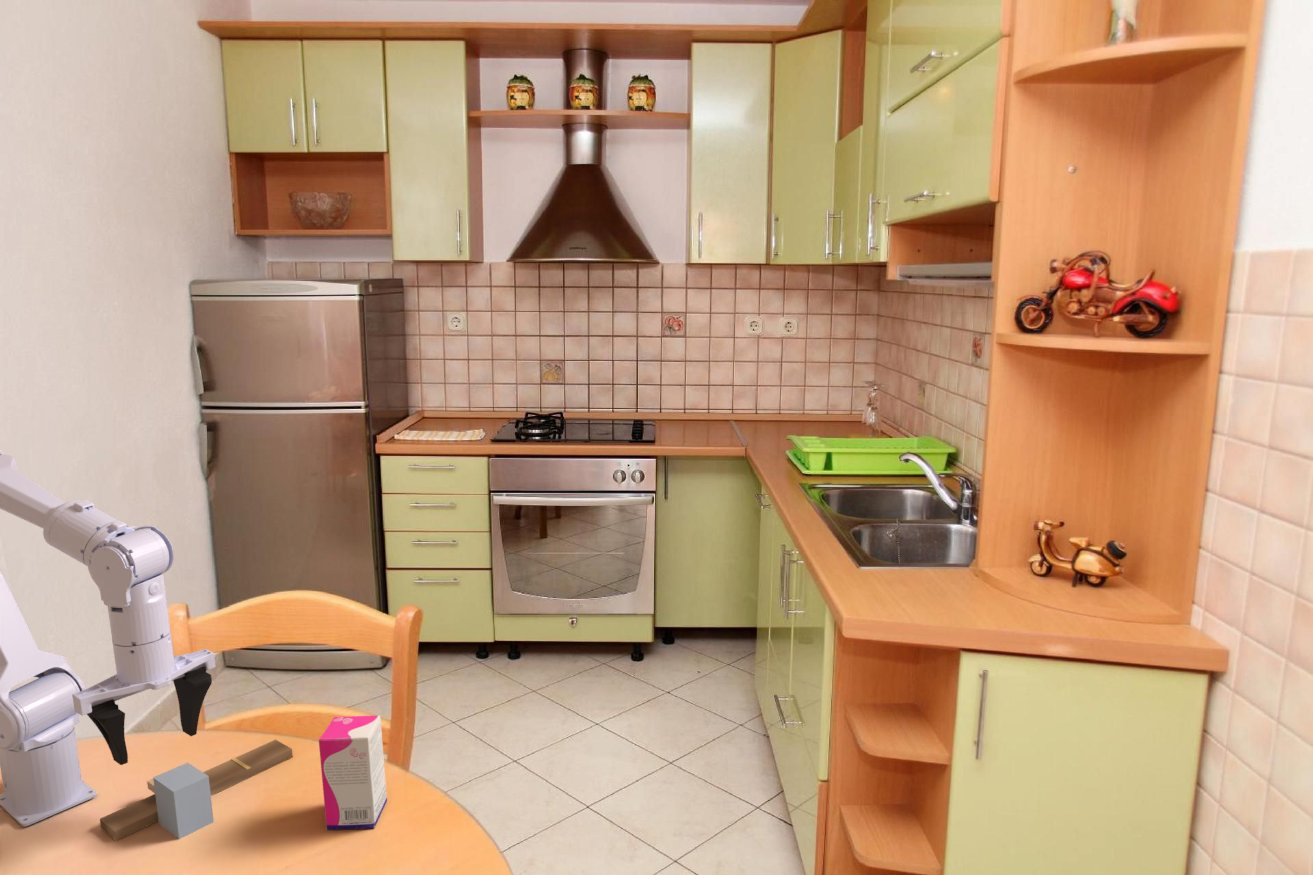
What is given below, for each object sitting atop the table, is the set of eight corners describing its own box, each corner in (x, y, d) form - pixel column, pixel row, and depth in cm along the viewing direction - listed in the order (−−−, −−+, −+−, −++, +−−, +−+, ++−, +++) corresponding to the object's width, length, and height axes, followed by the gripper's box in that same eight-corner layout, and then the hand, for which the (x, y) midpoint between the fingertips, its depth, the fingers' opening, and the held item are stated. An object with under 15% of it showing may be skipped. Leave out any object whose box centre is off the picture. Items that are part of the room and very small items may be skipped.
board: (100, 827, 105) (99, 817, 104) (276, 747, 122) (275, 738, 122) (116, 840, 102) (114, 830, 102) (292, 756, 119) (291, 748, 119)
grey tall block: (137, 806, 109) (131, 762, 108) (171, 791, 112) (166, 747, 111) (179, 839, 102) (173, 791, 101) (213, 822, 106) (208, 776, 104)
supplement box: (388, 799, 110) (382, 713, 108) (375, 829, 104) (368, 739, 102) (340, 800, 110) (333, 714, 107) (324, 830, 104) (316, 740, 102)
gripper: (85, 668, 93) (102, 787, 95) (223, 623, 104) (235, 730, 106) (58, 651, 97) (75, 765, 99) (193, 610, 108) (205, 713, 111)
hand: (156, 746), depth 103 cm, fingers open, 7 cm apart
